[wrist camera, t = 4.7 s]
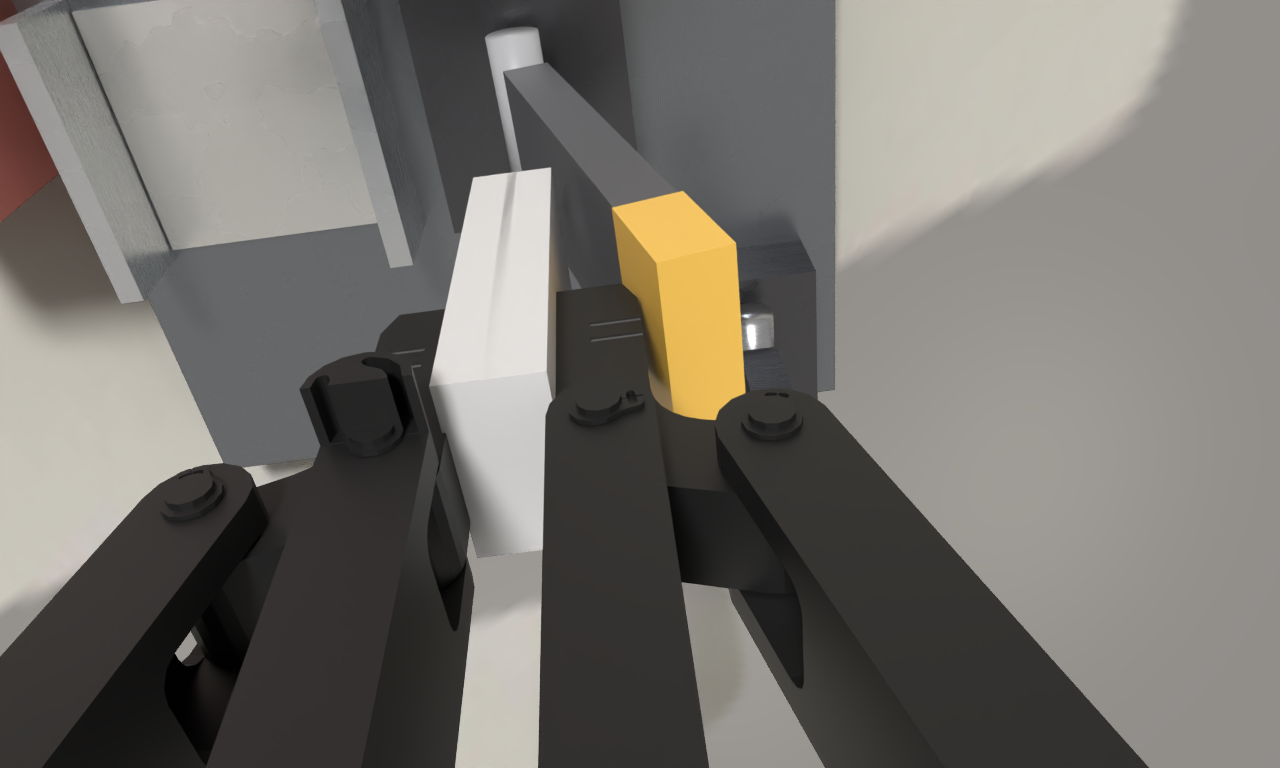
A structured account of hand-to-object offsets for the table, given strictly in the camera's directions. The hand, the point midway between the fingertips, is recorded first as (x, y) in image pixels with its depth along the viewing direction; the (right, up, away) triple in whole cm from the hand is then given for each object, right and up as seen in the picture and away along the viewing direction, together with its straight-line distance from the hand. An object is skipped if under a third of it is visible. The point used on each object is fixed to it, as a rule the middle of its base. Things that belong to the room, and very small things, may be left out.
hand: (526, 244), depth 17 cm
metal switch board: (-3, +4, +11) cm, 12 cm away
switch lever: (-1, +4, +5) cm, 7 cm away
